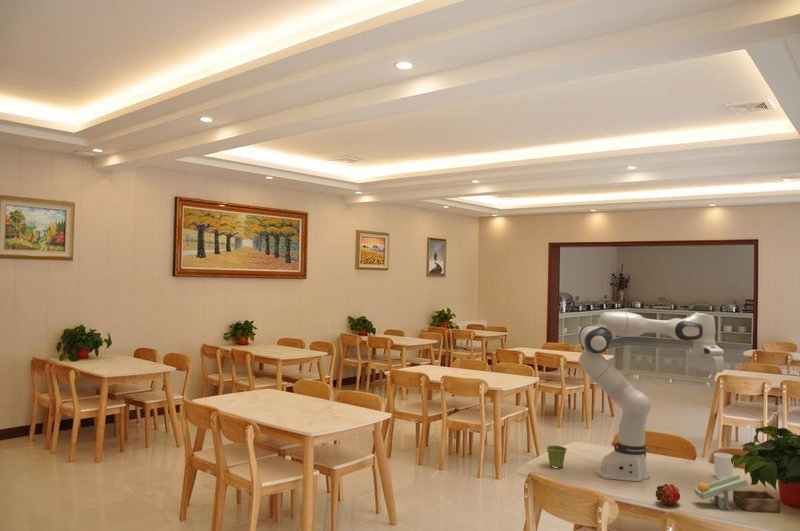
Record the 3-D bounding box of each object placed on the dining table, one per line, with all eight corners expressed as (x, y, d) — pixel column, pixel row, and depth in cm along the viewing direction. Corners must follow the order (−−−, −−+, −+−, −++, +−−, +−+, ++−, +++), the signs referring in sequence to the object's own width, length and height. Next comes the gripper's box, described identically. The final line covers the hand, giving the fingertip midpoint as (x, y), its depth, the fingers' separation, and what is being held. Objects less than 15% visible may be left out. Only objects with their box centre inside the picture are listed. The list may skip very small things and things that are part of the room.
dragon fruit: (657, 511, 237) (673, 508, 245) (675, 503, 233) (691, 501, 240) (646, 489, 242) (663, 487, 249) (664, 481, 237) (680, 479, 244)
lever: (702, 500, 237) (700, 493, 237) (689, 488, 250) (686, 481, 250) (748, 485, 236) (745, 478, 236) (732, 474, 249) (729, 467, 249)
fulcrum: (721, 510, 234) (721, 491, 235) (709, 500, 245) (709, 482, 245) (733, 510, 234) (733, 491, 234) (721, 500, 244) (721, 482, 245)
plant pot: (569, 465, 289) (569, 447, 290) (563, 471, 281) (563, 452, 282) (550, 462, 294) (550, 444, 295) (543, 467, 286) (543, 449, 287)
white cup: (736, 481, 268) (736, 458, 269) (716, 480, 270) (716, 457, 270) (730, 475, 276) (730, 453, 276) (711, 474, 278) (711, 452, 278)
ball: (701, 495, 238) (699, 485, 238) (697, 491, 242) (695, 481, 242) (711, 494, 238) (710, 484, 238) (707, 490, 242) (705, 480, 242)
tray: (745, 511, 234) (745, 499, 234) (733, 501, 244) (733, 490, 244) (780, 512, 233) (780, 500, 233) (766, 502, 243) (766, 491, 243)
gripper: (683, 346, 281) (683, 376, 281) (713, 351, 261) (713, 383, 261) (695, 346, 283) (695, 375, 282) (726, 351, 263) (726, 383, 262)
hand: (704, 379), depth 272 cm, fingers open, 8 cm apart
